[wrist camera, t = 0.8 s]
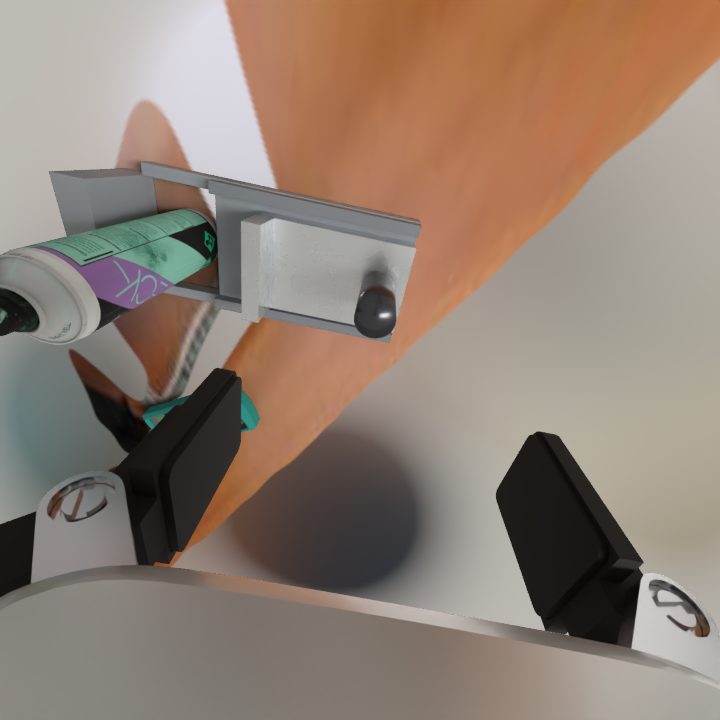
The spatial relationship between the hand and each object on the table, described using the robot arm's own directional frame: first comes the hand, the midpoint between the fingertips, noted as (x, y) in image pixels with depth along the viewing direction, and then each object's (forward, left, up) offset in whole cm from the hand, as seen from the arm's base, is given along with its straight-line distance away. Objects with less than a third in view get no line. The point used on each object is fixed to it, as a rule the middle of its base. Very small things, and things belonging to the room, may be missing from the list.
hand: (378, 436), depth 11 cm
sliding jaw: (+3, -5, -24) cm, 24 cm away
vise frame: (+3, -11, -25) cm, 28 cm away
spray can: (+3, -19, -26) cm, 32 cm away
